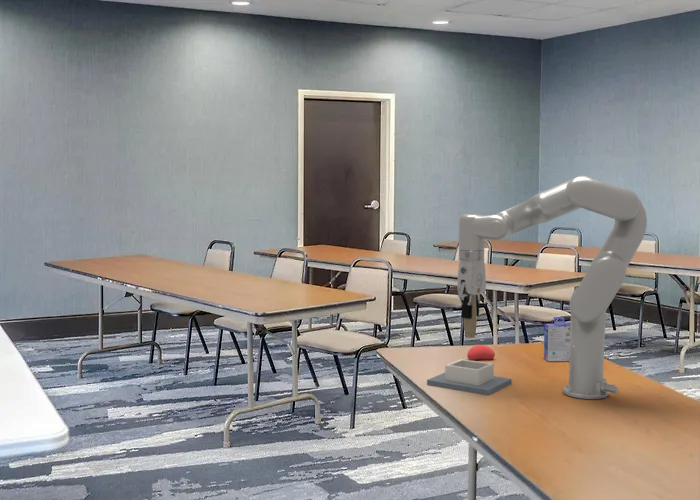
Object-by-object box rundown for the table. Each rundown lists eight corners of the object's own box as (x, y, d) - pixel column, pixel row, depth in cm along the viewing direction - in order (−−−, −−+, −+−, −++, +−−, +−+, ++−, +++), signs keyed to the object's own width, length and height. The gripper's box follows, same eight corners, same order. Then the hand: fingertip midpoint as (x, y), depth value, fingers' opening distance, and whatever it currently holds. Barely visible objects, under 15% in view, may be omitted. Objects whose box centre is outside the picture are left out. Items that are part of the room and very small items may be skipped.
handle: (470, 334, 248) (471, 285, 246) (482, 338, 242) (483, 288, 240) (457, 335, 246) (457, 286, 244) (468, 339, 240) (469, 289, 238)
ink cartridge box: (570, 357, 281) (571, 316, 279) (576, 361, 275) (577, 319, 274) (542, 358, 280) (543, 316, 278) (547, 361, 274) (548, 319, 273)
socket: (511, 383, 246) (511, 364, 245) (488, 395, 233) (488, 374, 232) (452, 374, 257) (452, 355, 257) (426, 384, 244) (427, 365, 244)
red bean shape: (468, 361, 281) (463, 346, 279) (493, 351, 281) (488, 337, 278) (472, 369, 277) (467, 355, 274) (497, 360, 276) (492, 345, 274)
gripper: (469, 259, 232) (468, 322, 234) (495, 254, 246) (493, 314, 248) (446, 257, 237) (445, 319, 238) (472, 252, 250) (471, 312, 252)
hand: (470, 316), depth 243 cm, fingers closed on handle, 3 cm apart
